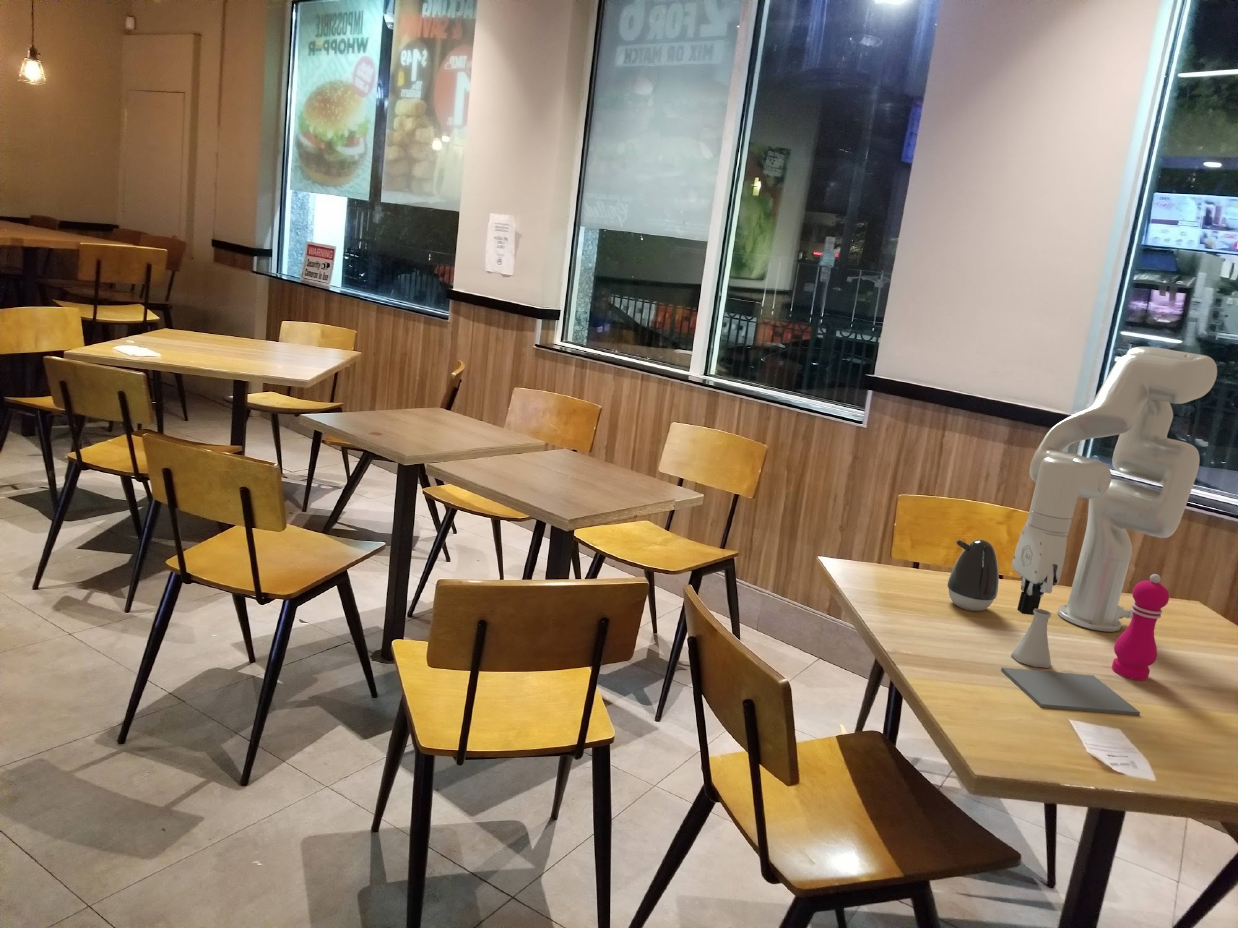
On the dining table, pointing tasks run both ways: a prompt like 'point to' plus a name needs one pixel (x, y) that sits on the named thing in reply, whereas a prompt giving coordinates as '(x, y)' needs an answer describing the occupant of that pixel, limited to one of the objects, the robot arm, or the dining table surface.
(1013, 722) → the dining table surface
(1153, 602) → the pepper mill
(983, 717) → the dining table surface
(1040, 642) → the flask
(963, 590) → the pump dispenser
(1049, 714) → the dining table surface
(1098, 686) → the rubber mat
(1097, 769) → the dining table surface
